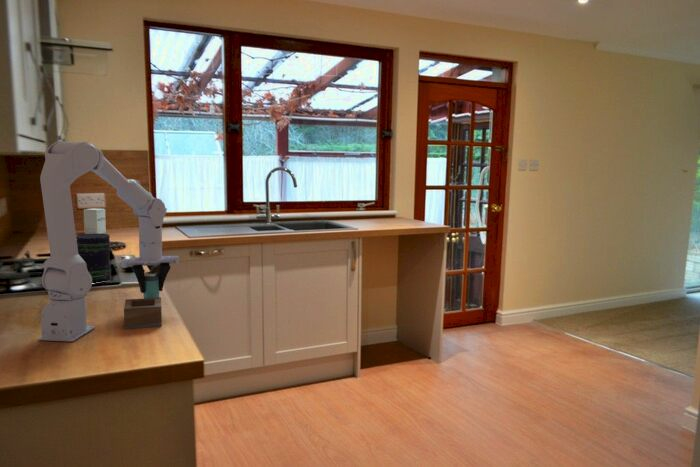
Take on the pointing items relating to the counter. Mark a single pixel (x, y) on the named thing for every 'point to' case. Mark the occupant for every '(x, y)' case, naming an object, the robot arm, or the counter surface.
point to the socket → (142, 313)
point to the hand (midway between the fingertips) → (151, 291)
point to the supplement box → (94, 221)
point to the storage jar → (95, 255)
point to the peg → (151, 286)
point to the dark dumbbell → (153, 269)
